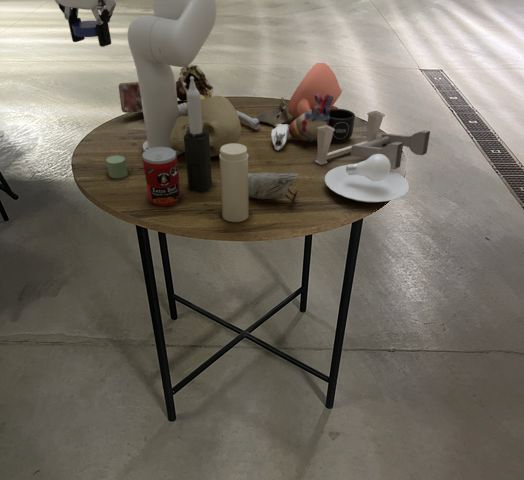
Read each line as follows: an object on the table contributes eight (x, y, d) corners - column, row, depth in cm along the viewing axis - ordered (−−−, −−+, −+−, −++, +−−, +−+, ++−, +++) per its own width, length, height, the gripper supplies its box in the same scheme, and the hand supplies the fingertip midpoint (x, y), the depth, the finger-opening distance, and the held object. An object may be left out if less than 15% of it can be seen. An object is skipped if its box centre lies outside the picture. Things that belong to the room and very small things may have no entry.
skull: (168, 121, 120) (247, 118, 123) (162, 87, 129) (236, 85, 133) (172, 169, 131) (245, 165, 134) (167, 135, 140) (235, 132, 144)
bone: (228, 111, 158) (218, 115, 157) (227, 95, 154) (217, 99, 153) (261, 135, 150) (252, 139, 149) (261, 119, 146) (251, 123, 144)
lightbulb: (341, 160, 117) (386, 157, 112) (349, 152, 121) (392, 149, 116) (343, 186, 121) (387, 184, 116) (351, 177, 125) (393, 175, 120)
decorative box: (169, 125, 166) (182, 127, 159) (113, 121, 154) (124, 123, 148) (169, 81, 160) (183, 82, 153) (110, 74, 149) (122, 74, 142)
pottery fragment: (259, 127, 164) (252, 112, 162) (289, 110, 162) (282, 94, 159) (261, 139, 150) (253, 123, 147) (294, 121, 148) (286, 104, 145)
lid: (67, 33, 103) (64, 24, 101) (93, 27, 106) (92, 18, 105) (86, 39, 100) (84, 29, 98) (113, 32, 103) (111, 23, 102)
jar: (222, 208, 113) (219, 142, 102) (248, 208, 113) (248, 142, 103) (221, 222, 109) (218, 154, 98) (249, 222, 109) (248, 154, 98)
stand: (111, 170, 127) (107, 155, 124) (129, 170, 127) (126, 155, 124) (107, 178, 123) (104, 163, 120) (126, 178, 123) (123, 163, 121)
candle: (213, 183, 122) (207, 74, 105) (206, 192, 119) (198, 81, 101) (194, 180, 123) (185, 72, 106) (187, 189, 120) (176, 78, 102)
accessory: (305, 130, 147) (305, 134, 148) (285, 137, 143) (285, 141, 143) (327, 137, 143) (327, 141, 143) (307, 145, 138) (307, 148, 139)
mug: (354, 144, 141) (358, 119, 136) (324, 144, 141) (327, 119, 136) (346, 129, 150) (349, 104, 145) (317, 129, 149) (319, 105, 144)
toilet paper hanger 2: (350, 139, 126) (348, 162, 130) (398, 144, 120) (394, 169, 123) (386, 126, 141) (383, 147, 144) (430, 130, 134) (426, 153, 138)
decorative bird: (235, 190, 120) (234, 161, 114) (298, 198, 117) (300, 169, 112) (229, 201, 116) (228, 171, 111) (294, 209, 114) (297, 179, 108)
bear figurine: (197, 54, 161) (171, 70, 168) (177, 72, 152) (151, 88, 159) (218, 94, 168) (193, 107, 175) (201, 113, 159) (175, 126, 167)
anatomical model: (311, 131, 147) (330, 83, 135) (323, 150, 143) (344, 101, 131) (283, 130, 143) (301, 80, 131) (295, 149, 139) (314, 99, 127)
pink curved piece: (271, 125, 149) (305, 153, 151) (297, 81, 135) (334, 113, 137) (303, 89, 162) (334, 116, 164) (330, 45, 148) (363, 75, 150)
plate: (346, 215, 111) (348, 206, 110) (310, 177, 125) (311, 169, 124) (423, 203, 117) (425, 194, 115) (380, 168, 131) (382, 160, 129)
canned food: (151, 208, 113) (143, 162, 105) (147, 193, 118) (140, 148, 110) (183, 204, 114) (178, 159, 106) (178, 189, 120) (173, 145, 112)
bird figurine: (267, 124, 134) (274, 124, 143) (268, 151, 137) (275, 148, 146) (285, 124, 133) (290, 123, 142) (285, 150, 136) (291, 148, 145)
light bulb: (180, 117, 159) (208, 109, 159) (181, 125, 154) (211, 116, 154) (173, 97, 154) (203, 88, 154) (175, 104, 150) (205, 95, 150)
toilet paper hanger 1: (311, 161, 133) (320, 166, 131) (315, 127, 126) (325, 132, 124) (369, 142, 143) (378, 147, 141) (376, 110, 136) (385, 114, 134)
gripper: (22, -67, 92) (49, 41, 105) (92, -61, 87) (112, 52, 99) (50, -69, 97) (73, 34, 109) (119, -64, 91) (135, 44, 104)
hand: (92, 42), depth 104 cm, fingers closed on lid, 6 cm apart
